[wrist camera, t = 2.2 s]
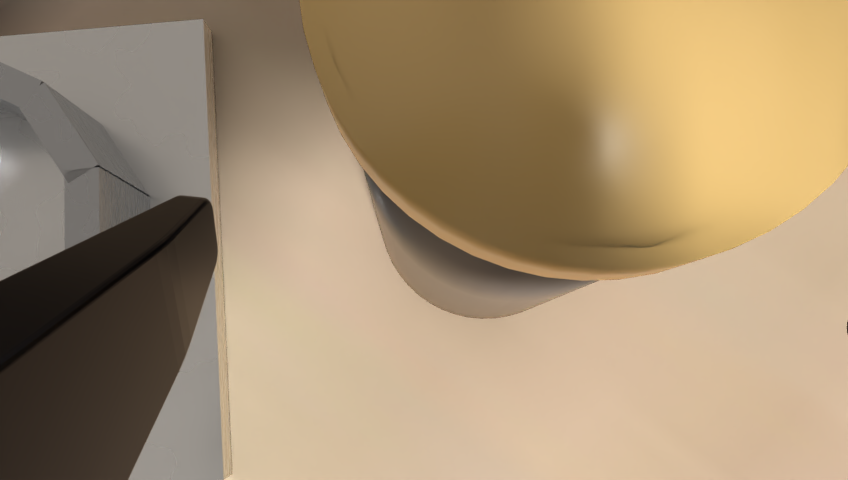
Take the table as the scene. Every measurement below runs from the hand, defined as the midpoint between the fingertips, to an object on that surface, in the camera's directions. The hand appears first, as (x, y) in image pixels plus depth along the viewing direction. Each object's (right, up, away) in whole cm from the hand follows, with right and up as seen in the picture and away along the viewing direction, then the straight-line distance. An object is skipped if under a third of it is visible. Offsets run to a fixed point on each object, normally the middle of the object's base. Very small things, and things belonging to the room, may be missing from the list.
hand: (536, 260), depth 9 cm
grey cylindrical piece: (0, +1, +10) cm, 10 cm away
